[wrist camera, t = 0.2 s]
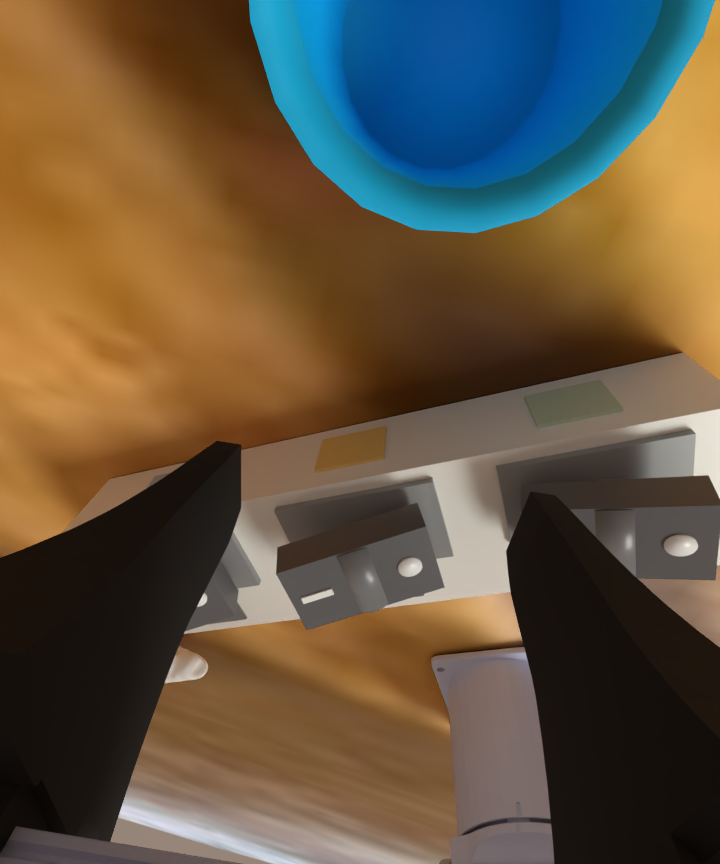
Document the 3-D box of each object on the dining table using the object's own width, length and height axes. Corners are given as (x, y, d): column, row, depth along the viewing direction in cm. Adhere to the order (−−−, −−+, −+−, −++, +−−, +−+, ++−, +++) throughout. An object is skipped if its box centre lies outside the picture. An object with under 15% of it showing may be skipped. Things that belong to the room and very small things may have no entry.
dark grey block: (700, 543, 17) (717, 585, 15) (531, 543, 19) (531, 580, 17) (706, 471, 15) (725, 510, 14) (521, 480, 17) (520, 514, 16)
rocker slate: (239, 587, 22) (234, 619, 20) (124, 623, 22) (111, 658, 20) (207, 536, 20) (200, 567, 19) (85, 576, 20) (67, 609, 19)
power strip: (822, 471, 22) (916, 546, 18) (176, 575, 29) (139, 644, 25) (859, 310, 18) (988, 358, 14) (107, 476, 25) (52, 539, 22)
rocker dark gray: (434, 558, 20) (446, 591, 18) (306, 598, 20) (307, 634, 18) (416, 499, 18) (427, 529, 17) (277, 543, 18) (275, 577, 17)
